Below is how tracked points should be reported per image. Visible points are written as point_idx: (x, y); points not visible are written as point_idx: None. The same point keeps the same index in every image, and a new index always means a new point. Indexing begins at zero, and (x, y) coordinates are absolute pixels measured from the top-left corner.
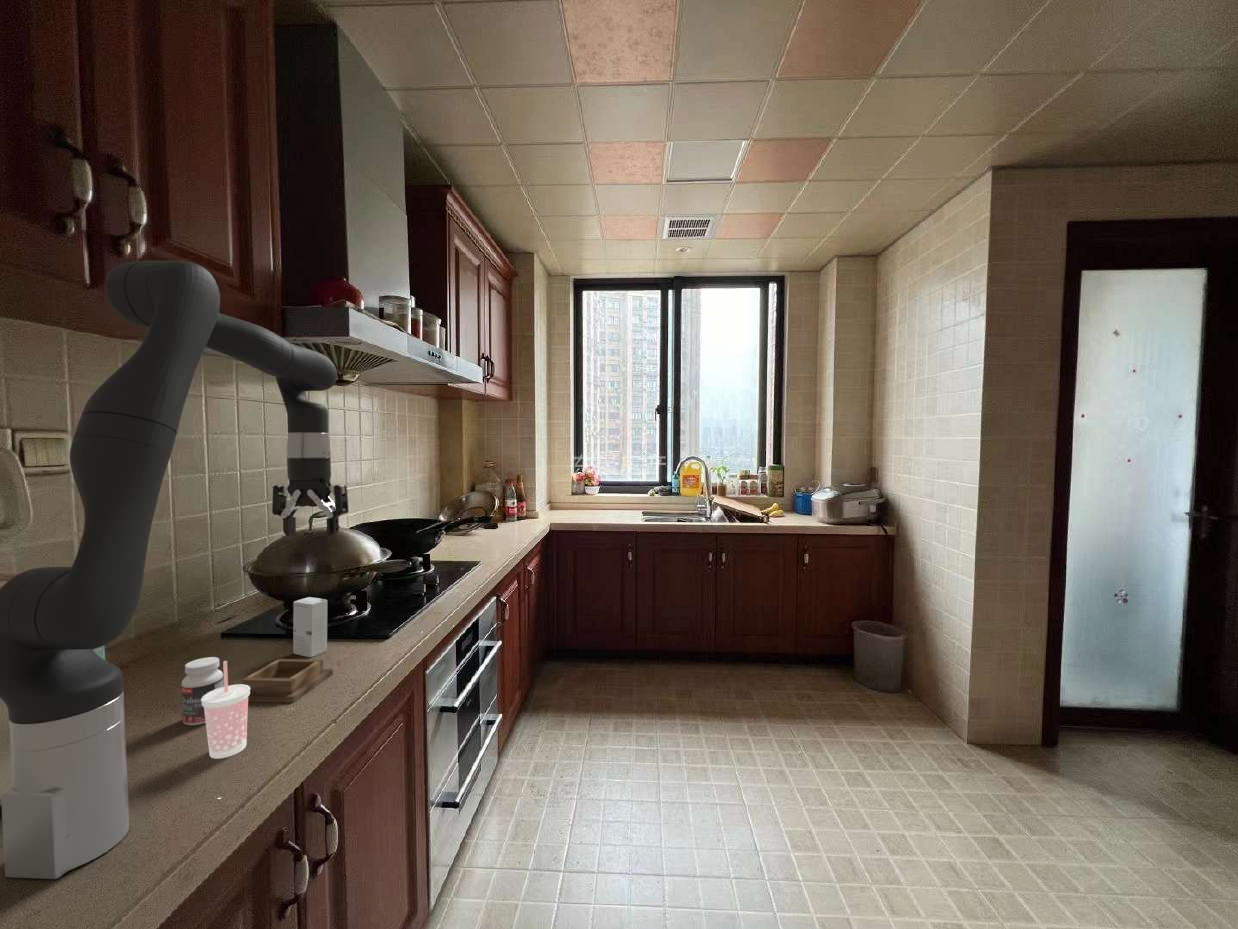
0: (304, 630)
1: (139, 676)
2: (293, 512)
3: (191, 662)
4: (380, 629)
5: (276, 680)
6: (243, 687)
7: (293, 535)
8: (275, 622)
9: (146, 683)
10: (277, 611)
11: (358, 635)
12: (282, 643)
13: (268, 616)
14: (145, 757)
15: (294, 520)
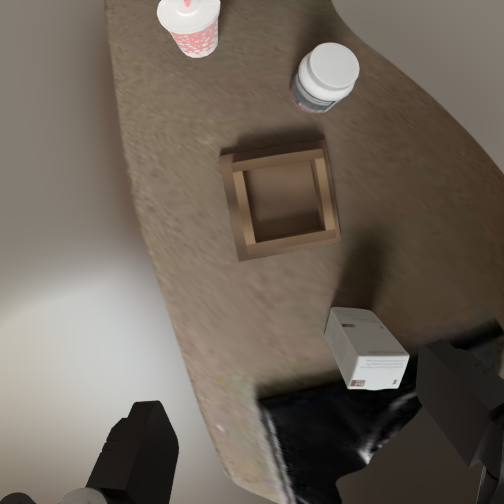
0: (360, 327)
1: (498, 193)
2: (493, 482)
3: (352, 61)
4: (298, 422)
5: (258, 158)
6: (180, 26)
7: (418, 379)
8: None
9: (477, 175)
10: None
11: (317, 396)
12: (415, 337)
13: None
14: (286, 14)
15: (461, 446)
